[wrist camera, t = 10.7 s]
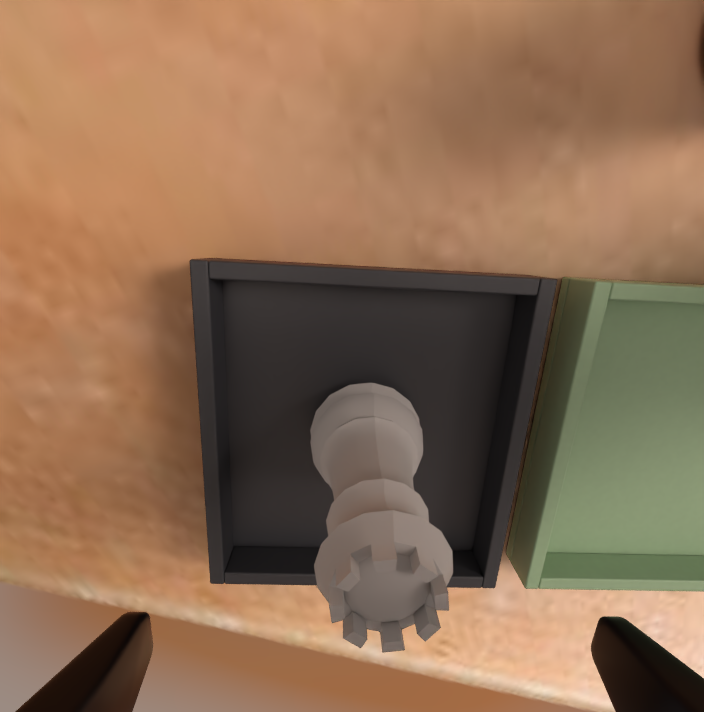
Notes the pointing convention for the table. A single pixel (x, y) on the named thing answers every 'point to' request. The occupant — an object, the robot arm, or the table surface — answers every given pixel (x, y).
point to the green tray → (617, 443)
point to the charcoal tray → (356, 366)
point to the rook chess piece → (377, 518)
